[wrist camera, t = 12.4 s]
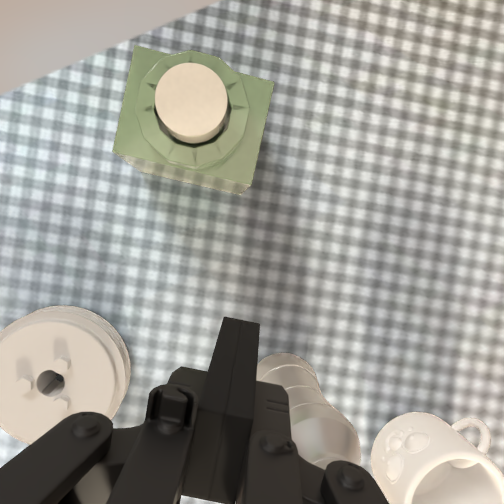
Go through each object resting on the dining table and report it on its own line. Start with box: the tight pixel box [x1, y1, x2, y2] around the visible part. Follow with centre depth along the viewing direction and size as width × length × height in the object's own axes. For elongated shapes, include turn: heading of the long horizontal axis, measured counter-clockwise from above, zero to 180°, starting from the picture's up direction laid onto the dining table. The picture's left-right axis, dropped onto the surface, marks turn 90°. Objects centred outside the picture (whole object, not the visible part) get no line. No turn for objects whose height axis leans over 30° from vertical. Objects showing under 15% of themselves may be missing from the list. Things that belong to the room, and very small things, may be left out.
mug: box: [371, 412, 504, 504], centre depth 42 cm, size 12×10×9 cm
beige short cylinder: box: [155, 63, 228, 144], centre depth 28 cm, size 4×4×2 cm
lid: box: [0, 305, 131, 445], centre depth 40 cm, size 13×13×5 cm
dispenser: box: [112, 45, 274, 195], centre depth 35 cm, size 10×8×14 cm
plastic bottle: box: [256, 353, 361, 470], centre depth 35 cm, size 6×7×20 cm
